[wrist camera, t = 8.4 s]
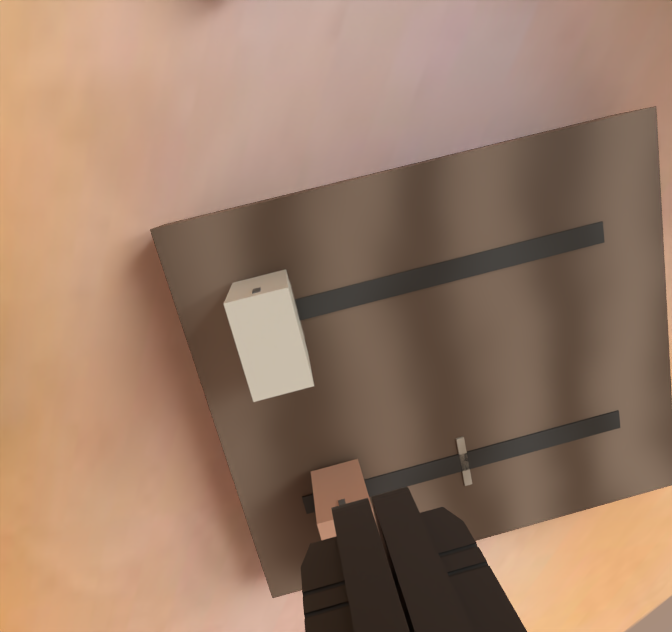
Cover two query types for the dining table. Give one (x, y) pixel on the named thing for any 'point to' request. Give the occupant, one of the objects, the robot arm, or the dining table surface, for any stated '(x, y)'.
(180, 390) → the dining table surface
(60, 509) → the dining table surface
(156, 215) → the dining table surface
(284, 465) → the console
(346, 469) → the terracotta fader
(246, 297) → the cream fader
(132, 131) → the dining table surface
